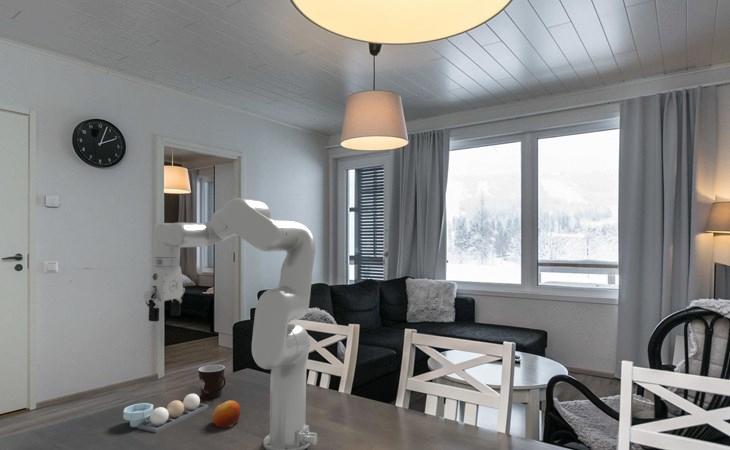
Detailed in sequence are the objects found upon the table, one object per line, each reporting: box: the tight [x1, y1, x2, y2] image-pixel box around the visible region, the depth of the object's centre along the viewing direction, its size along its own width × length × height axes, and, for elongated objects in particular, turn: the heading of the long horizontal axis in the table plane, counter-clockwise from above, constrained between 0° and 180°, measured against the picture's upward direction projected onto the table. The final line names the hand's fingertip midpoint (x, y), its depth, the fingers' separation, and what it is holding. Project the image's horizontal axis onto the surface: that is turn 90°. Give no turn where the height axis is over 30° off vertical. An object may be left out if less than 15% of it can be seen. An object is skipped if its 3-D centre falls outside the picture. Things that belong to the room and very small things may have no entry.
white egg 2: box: [182, 393, 201, 410], centre depth 144 cm, size 5×5×5 cm
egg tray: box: [137, 402, 209, 434], centre depth 137 cm, size 7×20×1 cm, turn 157°
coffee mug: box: [198, 364, 226, 400], centre depth 155 cm, size 12×9×10 cm
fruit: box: [211, 400, 241, 429], centre depth 133 cm, size 8×8×8 cm
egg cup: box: [122, 402, 154, 428], centre depth 132 cm, size 8×8×5 cm
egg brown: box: [166, 399, 184, 418], centre depth 137 cm, size 5×5×5 cm
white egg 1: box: [149, 406, 169, 426], centre depth 132 cm, size 5×5×5 cm
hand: (164, 318), depth 140 cm, fingers open, 9 cm apart
